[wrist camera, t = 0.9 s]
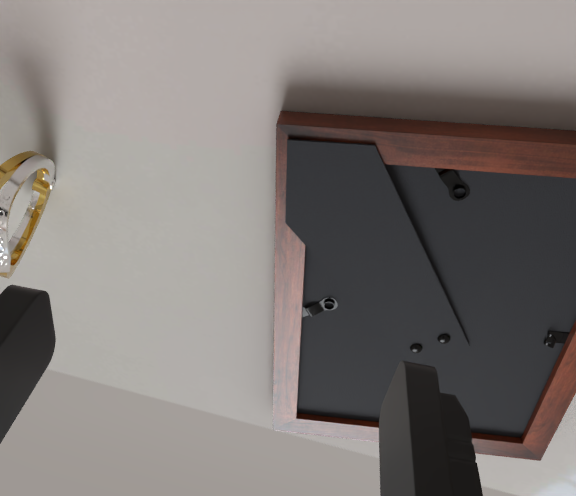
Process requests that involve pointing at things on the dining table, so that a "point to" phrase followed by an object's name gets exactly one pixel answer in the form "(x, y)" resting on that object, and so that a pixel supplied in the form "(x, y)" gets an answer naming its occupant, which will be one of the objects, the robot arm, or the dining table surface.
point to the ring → (7, 254)
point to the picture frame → (424, 273)
